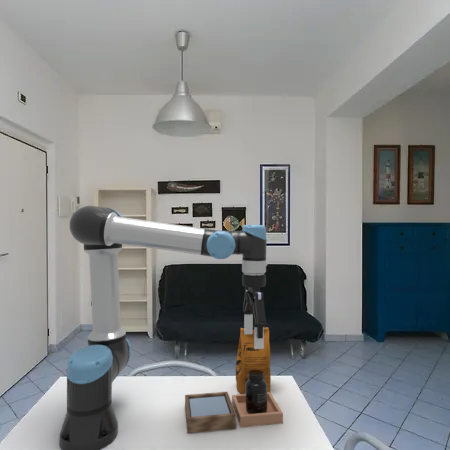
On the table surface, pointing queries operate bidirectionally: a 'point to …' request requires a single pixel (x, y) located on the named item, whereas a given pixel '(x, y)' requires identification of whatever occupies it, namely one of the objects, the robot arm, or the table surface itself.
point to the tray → (246, 419)
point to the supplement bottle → (256, 392)
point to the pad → (208, 406)
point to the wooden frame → (210, 416)
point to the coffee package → (252, 359)
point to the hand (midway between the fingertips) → (253, 340)
